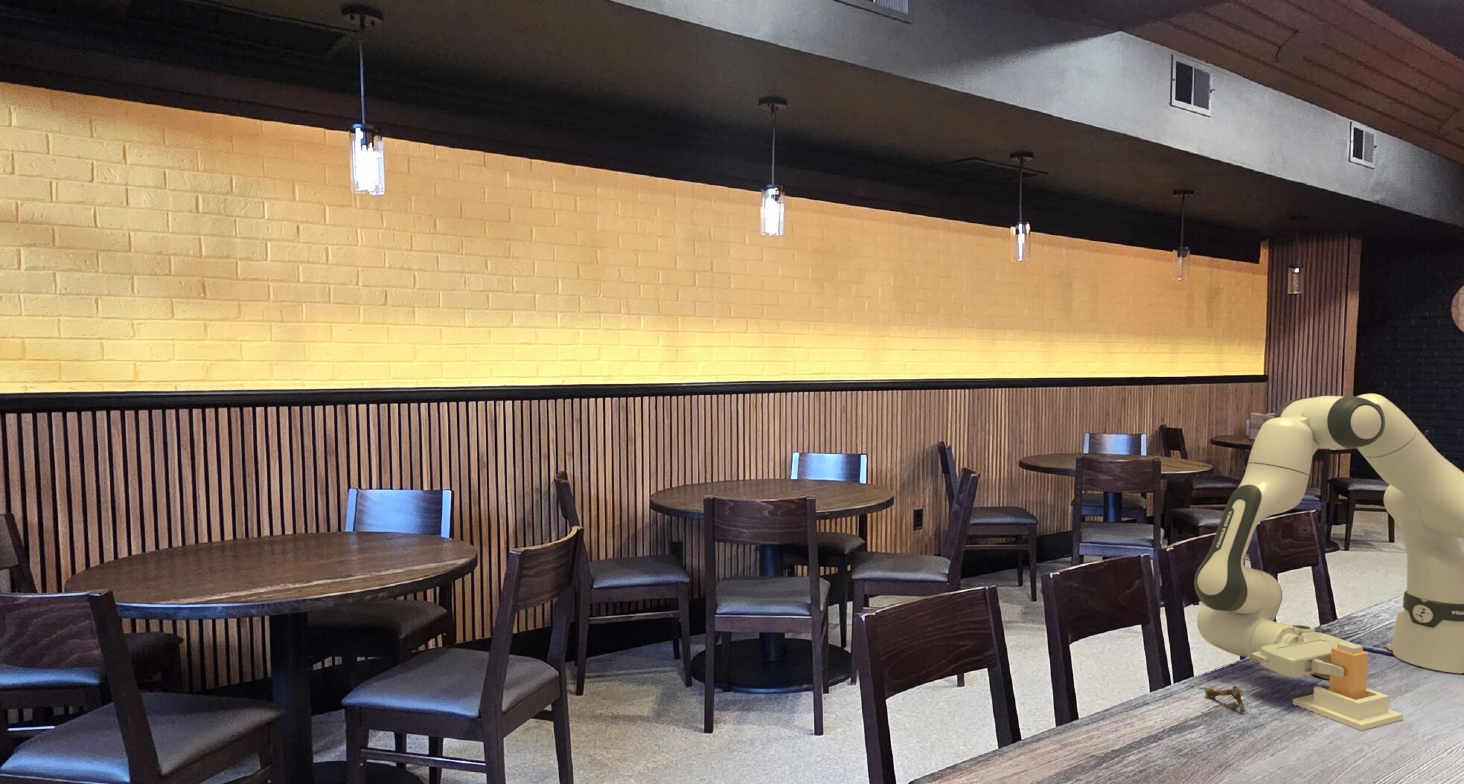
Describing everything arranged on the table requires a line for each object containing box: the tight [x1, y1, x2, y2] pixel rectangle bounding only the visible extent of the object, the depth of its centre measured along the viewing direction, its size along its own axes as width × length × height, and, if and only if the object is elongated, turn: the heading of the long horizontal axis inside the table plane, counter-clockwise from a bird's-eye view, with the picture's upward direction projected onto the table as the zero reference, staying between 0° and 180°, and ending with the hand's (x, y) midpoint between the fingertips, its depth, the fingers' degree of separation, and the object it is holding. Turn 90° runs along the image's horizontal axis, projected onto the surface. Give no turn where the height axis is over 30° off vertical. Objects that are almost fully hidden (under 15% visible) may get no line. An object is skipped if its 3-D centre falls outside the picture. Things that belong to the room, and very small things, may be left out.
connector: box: [1328, 641, 1369, 700], centre depth 157 cm, size 4×4×10 cm
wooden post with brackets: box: [1204, 685, 1246, 713], centre depth 160 cm, size 2×8×4 cm, turn 15°
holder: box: [1292, 686, 1404, 732], centre depth 158 cm, size 12×12×4 cm
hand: (1353, 670), depth 157 cm, fingers closed on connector, 4 cm apart
